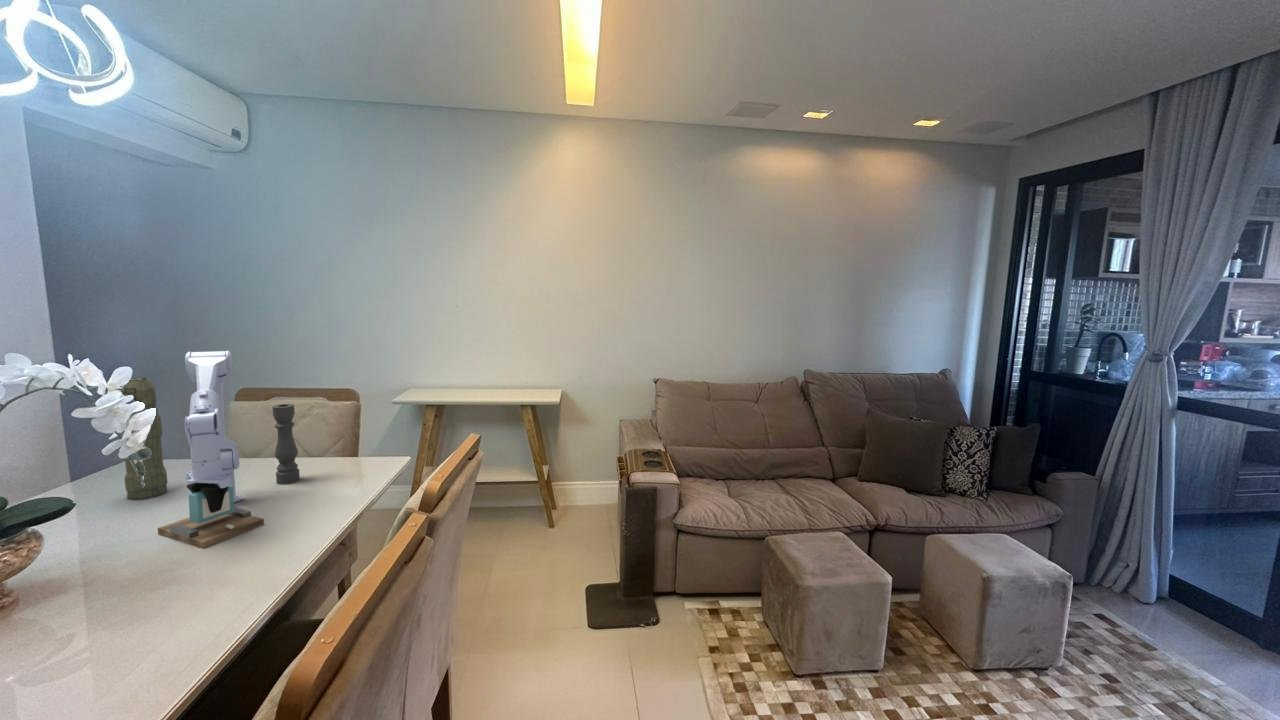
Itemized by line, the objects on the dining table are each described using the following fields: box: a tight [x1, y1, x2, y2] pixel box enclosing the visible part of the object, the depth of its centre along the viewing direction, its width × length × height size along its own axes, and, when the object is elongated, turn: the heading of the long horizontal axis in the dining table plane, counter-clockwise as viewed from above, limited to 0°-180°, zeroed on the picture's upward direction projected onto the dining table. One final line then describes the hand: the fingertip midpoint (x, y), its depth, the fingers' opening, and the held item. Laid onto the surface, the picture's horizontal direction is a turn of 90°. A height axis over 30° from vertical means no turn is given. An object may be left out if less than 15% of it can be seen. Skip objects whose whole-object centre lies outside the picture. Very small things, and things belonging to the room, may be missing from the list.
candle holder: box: [272, 403, 301, 485], centre depth 162 cm, size 6×6×25 cm
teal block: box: [188, 486, 235, 524], centre depth 130 cm, size 4×8×7 cm, turn 159°
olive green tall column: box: [121, 377, 169, 501], centre depth 148 cm, size 9×12×35 cm
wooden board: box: [157, 506, 265, 549], centre depth 131 cm, size 18×14×3 cm
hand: (210, 509), depth 130 cm, fingers closed on teal block, 3 cm apart
